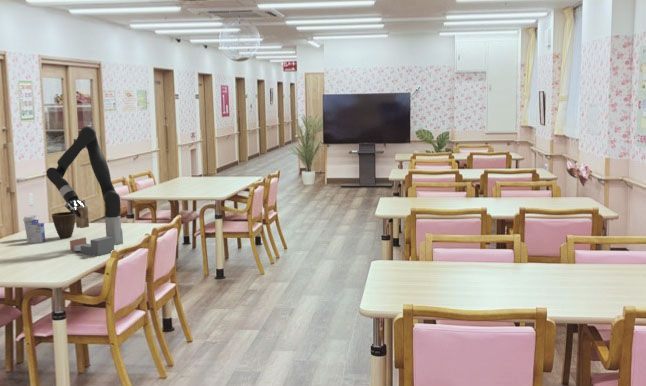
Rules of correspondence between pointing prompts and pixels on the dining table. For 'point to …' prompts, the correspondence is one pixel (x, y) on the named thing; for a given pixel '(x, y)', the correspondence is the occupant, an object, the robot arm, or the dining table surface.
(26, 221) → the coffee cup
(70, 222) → the plant pot
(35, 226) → the ink cartridge box
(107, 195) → the robot arm
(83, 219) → the walnut block
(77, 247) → the dock tray
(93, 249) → the block
